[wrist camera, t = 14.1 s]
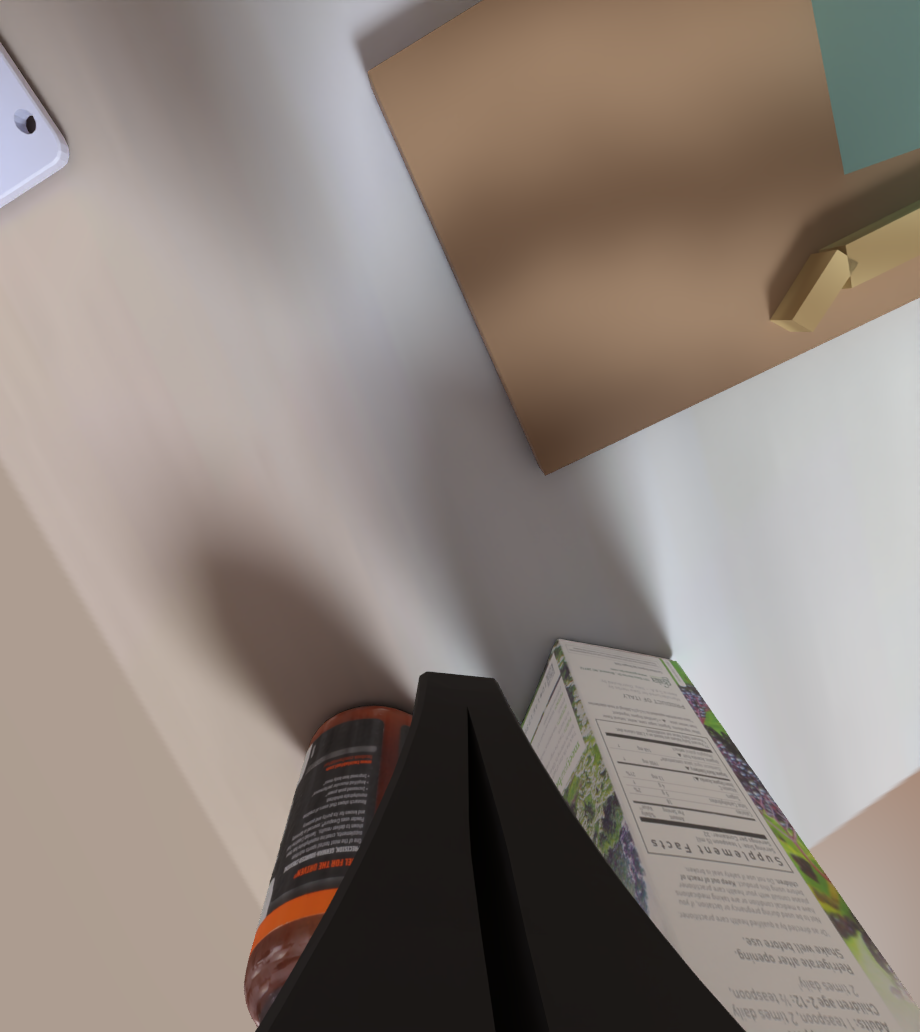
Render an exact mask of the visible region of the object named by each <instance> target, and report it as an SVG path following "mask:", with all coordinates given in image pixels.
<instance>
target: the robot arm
mask: <svg viewBox="0 0 920 1032" xmlns="http://www.w3.org/2000/svg"><path fill="white" fill-rule="evenodd" d="M32 115H33V117H34V119H35V121H36V130H35V131H34V132H33V133H32V134H30V133H29V132H28V130H27V127H26V120H27V118H28V117H29V116H32ZM68 159H69V148H68V145H67V143H66V141H65V138H64V137H63V135H62V134H61V132H60V131H59V129H58V128H57V126H56V125H55V123H54V122H53V120H52V119H51V117H50V116H49V114H48V113H47V111H46V110H45V108H44V107H43V105H42V104H41V102H40V101H39V99H38V98H37V96H36V95H35V93H34V92H33V90H32V89H31V87H30V86H29V84H28V83H27V81H26V80H25V78H24V77H23V75H22V74H21V72H20V71H19V69H18V68H17V66H16V65H15V63H14V62H13V60H12V59H11V57H10V56H9V54H8V53H7V51H6V50H5V48H4V47H3V45H2V44H1V42H0V208H1V207H3V206H4V205H6V204H7V203H9V202H11V201H12V200H14V199H15V198H17V197H18V196H20V195H21V194H23V193H24V192H26V191H28V190H29V189H31V188H32V187H34V186H35V185H37V184H38V183H40V182H41V181H43V180H45V179H46V178H48V177H49V176H51V175H52V174H54V173H55V172H57V171H58V170H60V169H62V168H63V167H64V166H65V165H66V164H67V163H68ZM255 1032H746V1031H745V1030H744V1029H743V1028H742V1027H741V1025H740V1024H739V1023H738V1022H737V1021H736V1020H735V1019H734V1018H733V1016H732V1015H731V1014H730V1013H729V1012H728V1011H727V1010H726V1008H725V1007H724V1006H723V1005H722V1004H721V1003H720V1002H719V1001H718V999H717V998H716V997H715V996H714V995H713V994H712V993H711V992H710V990H709V989H708V988H707V987H706V986H705V985H704V984H703V983H702V981H701V980H700V979H699V978H698V977H697V976H696V974H695V973H694V972H693V971H692V970H691V968H690V967H689V966H688V965H687V964H686V962H685V961H684V960H683V959H682V957H681V956H680V955H679V954H678V952H677V951H676V950H675V949H674V948H673V946H672V945H671V944H670V943H669V941H668V940H667V939H666V938H665V937H664V935H663V934H662V933H661V932H660V930H659V929H658V928H657V927H656V926H655V924H654V923H653V922H652V920H651V919H650V918H649V917H648V915H647V914H646V913H645V911H644V910H643V909H642V907H641V906H640V905H639V904H638V902H637V901H636V900H635V898H634V897H633V896H632V895H631V893H630V892H629V891H628V889H627V888H626V887H625V885H624V884H623V883H622V881H621V880H620V879H619V877H618V876H617V875H616V873H615V872H614V871H613V869H612V868H611V866H610V865H609V864H608V862H607V861H606V859H605V858H604V857H603V855H602V854H601V852H600V851H599V850H598V848H597V847H596V845H595V844H594V842H593V841H592V839H591V838H590V837H589V835H588V834H587V832H586V831H585V829H584V828H583V826H582V825H581V823H580V822H579V821H578V819H577V818H576V816H575V815H574V813H573V812H572V810H571V808H570V807H569V805H568V804H567V802H566V801H565V799H564V798H563V796H562V795H561V793H560V791H559V790H558V788H557V787H556V785H555V783H554V782H553V780H552V778H551V777H550V775H549V774H548V772H547V770H546V769H545V767H544V765H543V764H542V762H541V761H540V759H539V757H538V756H537V754H536V752H535V750H534V749H533V747H532V745H531V744H530V742H529V740H528V738H527V737H526V735H525V733H524V731H523V729H522V728H521V726H520V724H519V722H518V720H517V719H516V717H515V715H514V713H513V711H512V709H511V708H510V706H509V704H508V702H507V700H506V698H505V696H504V694H503V692H502V690H501V688H500V686H499V684H498V683H497V682H496V680H495V679H494V678H485V677H475V676H466V675H456V674H446V673H436V672H425V673H424V674H422V675H421V676H420V677H419V682H418V688H417V693H416V699H415V705H414V710H413V716H412V722H411V725H410V728H409V732H408V735H407V737H406V740H405V743H404V745H403V748H402V751H401V753H400V756H399V759H398V762H397V764H396V767H395V770H394V772H393V775H392V777H391V779H390V782H389V784H388V786H387V788H386V791H385V793H384V795H383V797H382V800H381V802H380V804H379V806H378V808H377V811H376V813H375V815H374V817H373V820H372V822H371V824H370V826H369V828H368V830H367V833H366V835H365V837H364V839H363V841H362V843H361V845H360V847H359V849H358V851H357V853H356V855H355V857H354V859H353V861H352V863H351V865H350V867H349V869H348V871H347V872H346V874H345V876H344V878H343V880H342V882H341V884H340V886H339V888H338V889H337V891H336V893H335V895H334V897H333V899H332V901H331V903H330V904H329V906H328V908H327V910H326V912H325V913H324V915H323V917H322V919H321V921H320V922H319V924H318V926H317V928H316V929H315V931H314V933H313V935H312V936H311V938H310V940H309V942H308V943H307V945H306V947H305V949H304V950H303V952H302V954H301V956H300V958H299V959H298V961H297V963H296V965H295V966H294V968H293V970H292V972H291V973H290V975H289V977H288V978H287V980H286V982H285V983H284V985H283V987H282V988H281V990H280V992H279V993H278V995H277V997H276V999H275V1000H274V1002H273V1004H272V1005H271V1007H270V1008H269V1010H268V1012H267V1013H266V1015H265V1017H264V1018H263V1020H262V1022H261V1023H260V1025H259V1026H258V1028H257V1030H256V1031H255Z"/></svg>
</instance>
